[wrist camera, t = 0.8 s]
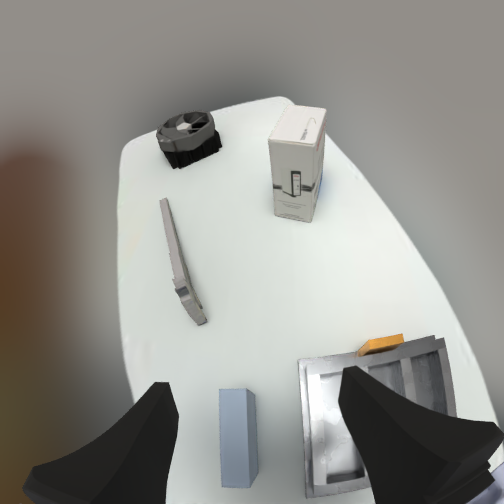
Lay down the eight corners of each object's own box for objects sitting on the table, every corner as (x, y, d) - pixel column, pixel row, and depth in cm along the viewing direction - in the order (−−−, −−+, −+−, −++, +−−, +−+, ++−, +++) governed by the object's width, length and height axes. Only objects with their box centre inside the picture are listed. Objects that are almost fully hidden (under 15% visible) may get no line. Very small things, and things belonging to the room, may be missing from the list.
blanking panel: (258, 472, 19) (249, 487, 14) (236, 472, 19) (221, 487, 14) (255, 394, 23) (246, 388, 18) (233, 395, 23) (219, 389, 18)
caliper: (209, 323, 28) (190, 298, 23) (199, 327, 28) (178, 303, 23) (167, 199, 40) (152, 167, 34) (161, 202, 39) (145, 170, 34)
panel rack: (447, 458, 15) (471, 460, 12) (306, 496, 17) (309, 511, 13) (431, 336, 23) (452, 321, 20) (298, 360, 24) (300, 349, 21)
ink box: (290, 174, 39) (286, 102, 29) (323, 179, 38) (327, 106, 28) (273, 216, 35) (264, 137, 25) (311, 224, 33) (315, 144, 24)
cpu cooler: (200, 104, 45) (222, 122, 40) (206, 128, 50) (229, 150, 44) (148, 126, 43) (161, 148, 38) (158, 150, 48) (173, 175, 43)
